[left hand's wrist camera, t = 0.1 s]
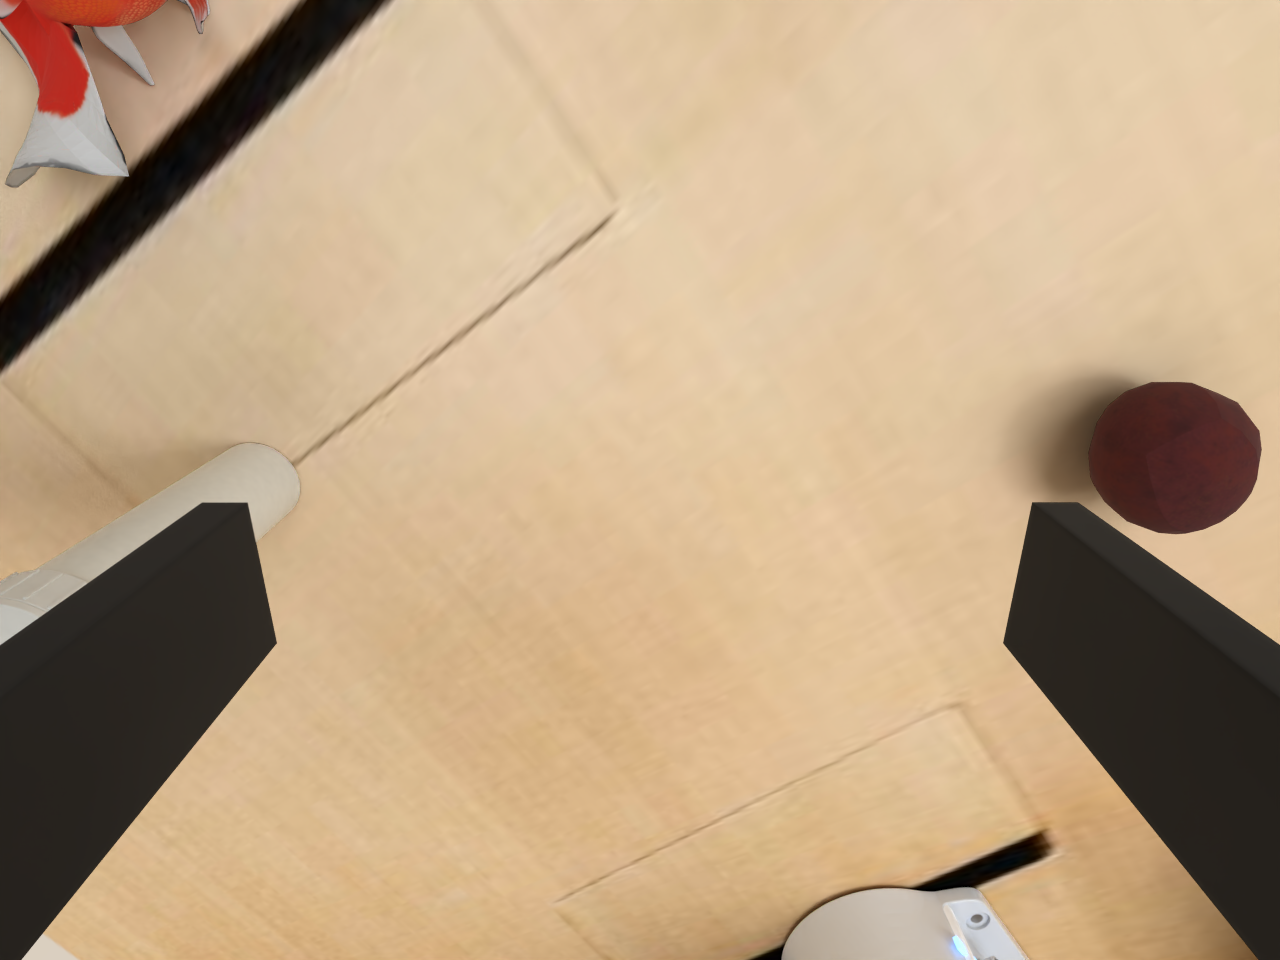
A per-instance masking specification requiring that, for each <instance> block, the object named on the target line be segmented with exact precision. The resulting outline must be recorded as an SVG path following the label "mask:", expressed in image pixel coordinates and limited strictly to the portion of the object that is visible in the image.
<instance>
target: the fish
mask: <svg viewBox="0 0 1280 960" xmlns="http://www.w3.org/2000/svg"><path fill="white" fill-rule="evenodd" d="M166 1H167V0H0V31H1V32H2V33H3V35H4V36H5V37H6V39H7V40H8V41H9V42H10V44H11V45H12V46H13V47H14V49H15V50H16V51H17V52H18V54H19V55H20V56H21V57H22V59H23V60H24V61H25V63H26V64H27V65H28V67H29V69H30V71H31V73H32V74H33V76H34V78H35V80H36V83H37V85H38V88H39V98H38V102H37V105H36V109H35V112H34V115H33V119H32V122H31V125H30V128H29V131H28V133H27V136H26V139H25V141H24V143H23V145H22V147H21V149H20V151H19V152H18V154H17V156H16V159H15V161H14V164H13V166H12V168H11V171H10V173H9V175H8V177H7V179H6V182H5V184H6V185H8V186H10V187H19V186H20V185H21V184H23V183H24V182H25V181H27V180H28V179H29V178H31V177H32V176H33V175H34V174H35V173H36V172H37V170H38V169H39V167H58V168H68V169H72V170H76V171H80V172H85V173H89V174H93V175H109V176H129V174H128V170H127V166H126V161H125V157H124V154H123V152H122V150H121V148H120V146H119V144H118V141H117V139H116V137H115V135H114V133H113V131H112V129H111V127H110V125H109V123H108V121H107V118H106V115H105V112H104V109H103V106H102V103H101V100H100V97H99V94H98V91H97V88H96V85H95V82H94V80H93V77H92V74H91V71H90V68H89V65H88V63H87V60H86V57H85V54H84V51H83V49H82V46H81V43H80V40H79V37H78V34H77V32H76V31H75V29H74V28H73V25H82V26H91V27H92V30H93V32H94V33H95V35H96V37H97V38H98V39H99V40H100V41H101V42H102V43H103V44H104V45H105V46H106V47H107V48H109V49H110V50H111V51H112V52H114V53H115V54H116V55H117V56H118V57H120V58H121V59H122V60H123V61H124V62H126V63H127V64H128V65H129V66H130V67H131V68H132V69H133V70H134V71H136V72H137V73H138V74H139V75H140V76H141V77H142V78H143V79H144V80H145V81H146V82H147V83H148V84H149V85H154V82H153V80H152V78H151V76H150V74H149V72H148V69H147V67H146V65H145V63H144V61H143V59H142V57H141V55H140V53H139V51H138V50H137V48H136V47H135V45H134V44H133V42H132V41H131V39H130V38H129V36H128V35H127V33H126V31H125V30H124V28H123V26H122V25H126V24H130V23H134V22H136V21H138V20H141V19H143V18H145V17H147V16H149V15H150V14H152V13H153V12H154V11H156V10H157V9H158V8H160V7H161V6H162V5H163V4H164V3H165V2H166ZM178 1H180V2H182V3H184V4H186V5H187V6H188V7H189V8H190V10H191V12H192V15H193V18H194V21H195V25H196V28H197V31H198V33H199V34H203V30H204V20H205V19H206V17H207V16H208V15H209V14H210V8H209V3H208V0H178Z"/></svg>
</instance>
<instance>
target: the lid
mask: <svg viewBox="0 0 1280 960" xmlns="http://www.w3.org/2000/svg"><path fill="white" fill-rule="evenodd" d="M87 583H88V582H86V581H84V580H82V579H80V578H77V577H75V576H72V575H69V574H66V573H62V572H57V571H51V570H39V569H36V570H31V571H25V572H21V573H17V572H15V573H13V574H11V575H10V576H8V577H6V578H5V579H3V580H1V581H0V645H1V644H2V643H4V642H5V641H7V640H8V639H9V638H11V637H12V636H14V635H15V634H17V633H18V632H19V631H21V630H22V629H24V628H25V627H26V626H28V625H29V624H31V623H32V622H34V621H35V620H36V619H38V618H39V617H41V616H42V615H43V614H45V613H46V612H48V611H49V610H50V609H52V608H53V607H55V606H56V605H58V604H59V603H60V602H62V601H63V600H65V599H66V598H67V597H69V596H70V595H72V594H73V593H75V592H76V591H77V590H79V589H80V588H82V587H83V586H84V585H86V584H87Z"/></svg>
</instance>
